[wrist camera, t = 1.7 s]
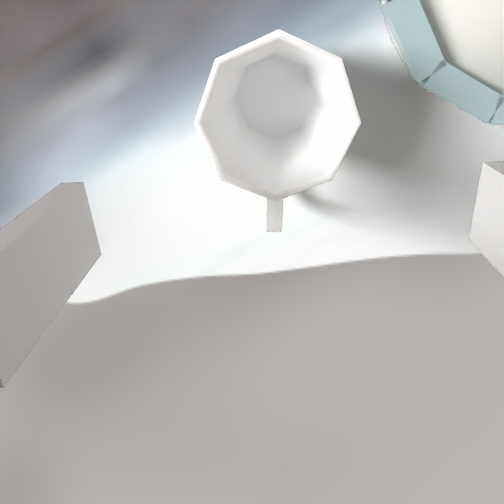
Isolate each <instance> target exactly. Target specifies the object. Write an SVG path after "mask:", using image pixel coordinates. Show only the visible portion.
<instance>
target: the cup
mask: <svg viewBox="0 0 504 504" xmlns="http://www.w3.org/2000/svg"><path fill="white" fill-rule="evenodd" d="M360 124H361V120H360V117H359V114H358V110H357V107H356V104H355V100H354V97H353V94H352V90H351V87H350V84H349V80H348V77H347V74H346V71H345V67H344V64H343V61H342V58H340V57H338V56H336V55H334V54H332V53H330V52H327V51H325V50H323V49H321V48H319V47H316V46H314V45H312V44H310V43H308V42H306V41H303V40H301V39H299V38H297V37H295V36H293V35H290V34H288V33H286V32H284V31H282V30H279V29H278V30H276V31H274V32H272V33H270V34H267V35H265V36H263V37H261V38H259V39H257V40H255V41H252V42H250V43H248V44H246V45H244V46H242V47H240V48H238V49H235V50H233V51H231V52H229V53H227V54H225V55H223V56H220V57H218V58H216V59H215V61H214V64H213V67H212V70H211V73H210V76H209V79H208V82H207V85H206V88H205V91H204V94H203V97H202V100H201V103H200V106H199V109H198V112H197V115H196V118H195V121H194V125H195V127H196V129H197V131H198V133H199V135H200V137H201V140H202V142H203V144H204V146H205V148H206V150H207V152H208V154H209V156H210V158H211V161H212V163H213V165H214V167H215V169H216V171H217V173H218V175H219V177H220V180H223V181H225V182H228V183H230V184H233V185H235V186H238V187H240V188H243V189H245V190H248V191H251V192H253V193H256V194H258V195H261V196H263V197H266V198H267V232H281V230H282V215H283V198H286V197H288V196H291V195H294V194H296V193H299V192H301V191H304V190H307V189H309V188H312V187H315V186H317V185H320V184H322V183H325V182H328V181H330V180H332V179H333V177H334V175H335V173H336V171H337V169H338V167H339V165H340V163H341V161H342V159H343V157H344V155H345V153H346V152H347V150H348V148H349V146H350V144H351V142H352V140H353V138H354V136H355V134H356V132H357V130H358V128H359V126H360Z"/></svg>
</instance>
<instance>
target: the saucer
mask: <svg viewBox="0 0 504 504" xmlns="http://www.w3.org/2000/svg"><path fill="white" fill-rule="evenodd" d="M380 4H381V5H380V6H379V7H380V10H381V12H382V14H383V17H384V21H385V25H386V27H387V30H388V33H389V35H390V38H391V40H392V43H393V45H394V47H395V48H396V50H397V52H398V54H399V56H400V57H401V59H402V61H403V62H404V64H405V65H406V66H407V68H408V70H409V72H410V75H411V77H412V79H413V80H415V81H418V83H417V84H418V85H420V86H421V87H423V88H425V89H426V90H428V91H430V92H432V93H433V94H435V95H437V96H438V97H440V98H441V99H443V100H445V101H447V102H449V103H451V104H452V105H454V106H456V107H457V108H459V109H461V110H463V111H464V112H466V113H468V114H470V115H471V116H473V117H475V118H476V119H478V120H480V121H482V122H485V123H490V124H492V125H501V124H504V0H380Z"/></svg>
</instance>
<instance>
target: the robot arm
mask: <svg viewBox="0 0 504 504" xmlns="http://www.w3.org/2000/svg"><path fill="white" fill-rule="evenodd" d="M469 240H470V242H471V243H472V244H473V245H474V246H475V247H476V248H477V249H478V250H479V251H480V252H481V253H482V254H483V255H484V256H485V257H486V258H487V260H488V261H489V262H490V263H491V264H492V265H493V266H494V267H495V268H496V269H497V270H498V271H499V272H500V273H501V274H502V275H503V277H504V161H497V162H483V165H482V170H481V176H480V181H479V187H478V192H477V198H476V203H475V208H474V214H473V219H472V225H471V230H470V236H469ZM100 255H101V252H100V248H99V244H98V240H97V236H96V232H95V228H94V224H93V220H92V216H91V212H90V208H89V203H88V199H87V195H86V191H85V187H84V183H83V182H73V183H61V184H59V185H58V186H57V187H55V188H54V189H53V190H51V191H50V192H49V193H47V194H46V195H45V196H44V197H42V198H41V199H40V200H38V201H37V202H36V203H34V204H33V205H32V206H30V207H29V208H28V209H26V210H25V211H24V212H23V213H21V214H20V215H19V216H17V217H16V218H15V219H13V220H12V221H11V222H9V223H8V224H7V225H5V226H4V227H3V228H2V229H0V388H2V387H5V386H6V384H7V383H8V381H9V380H10V378H11V377H12V376H13V374H14V373H15V372H16V370H17V369H18V368H19V366H20V365H21V363H22V362H23V361H24V359H25V358H26V357H27V355H28V354H29V353H30V351H31V350H32V348H33V347H34V346H35V344H36V343H37V341H38V340H39V339H40V338H41V336H42V335H43V333H44V332H45V331H46V329H47V328H48V326H49V325H50V324H51V322H52V321H53V320H54V318H55V317H56V316H57V314H58V313H59V311H60V310H61V309H62V307H63V306H64V305H65V303H66V302H67V300H68V299H69V298H70V296H71V295H72V294H73V292H74V291H75V289H76V288H77V287H78V285H79V284H80V283H81V281H82V280H83V278H84V277H85V276H86V274H87V273H88V272H89V270H90V269H91V267H92V266H93V265H94V263H95V262H96V261H97V259H98V258H99V257H100Z"/></svg>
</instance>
